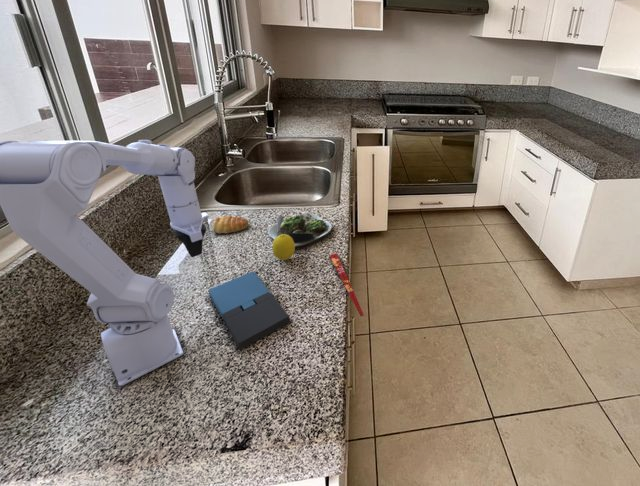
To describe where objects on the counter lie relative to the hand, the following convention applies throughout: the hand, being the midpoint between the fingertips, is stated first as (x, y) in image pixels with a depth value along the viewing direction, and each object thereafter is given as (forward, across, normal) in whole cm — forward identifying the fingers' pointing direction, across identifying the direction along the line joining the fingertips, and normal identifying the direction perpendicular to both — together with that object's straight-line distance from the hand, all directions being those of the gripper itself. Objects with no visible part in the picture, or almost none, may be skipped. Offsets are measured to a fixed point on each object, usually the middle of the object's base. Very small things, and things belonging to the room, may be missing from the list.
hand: (196, 254), depth 78 cm
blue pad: (+9, -9, -5) cm, 14 cm away
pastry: (+10, +24, -13) cm, 29 cm away
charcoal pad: (+9, -19, -5) cm, 22 cm away
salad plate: (+10, +6, -28) cm, 30 cm away
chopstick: (+9, -22, -26) cm, 35 cm away
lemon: (+10, -3, -19) cm, 21 cm away
